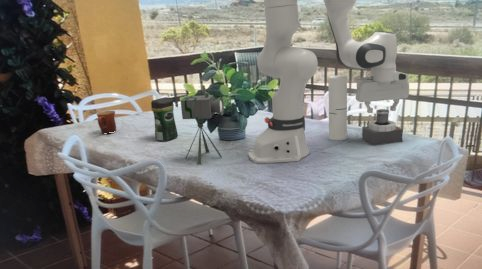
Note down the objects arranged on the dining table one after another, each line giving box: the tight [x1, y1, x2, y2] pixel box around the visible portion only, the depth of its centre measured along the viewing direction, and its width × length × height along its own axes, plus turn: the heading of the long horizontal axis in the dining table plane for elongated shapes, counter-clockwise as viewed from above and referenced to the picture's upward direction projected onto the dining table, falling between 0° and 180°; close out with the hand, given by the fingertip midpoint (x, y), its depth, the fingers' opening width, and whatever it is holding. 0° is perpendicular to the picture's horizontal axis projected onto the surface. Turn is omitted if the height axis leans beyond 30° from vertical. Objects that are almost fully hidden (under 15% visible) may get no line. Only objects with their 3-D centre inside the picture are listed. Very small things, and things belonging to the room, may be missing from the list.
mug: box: [96, 110, 117, 134], centre depth 196 cm, size 12×9×10 cm
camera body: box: [361, 119, 404, 146], centre depth 157 cm, size 12×10×7 cm
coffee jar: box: [150, 97, 179, 142], centre depth 179 cm, size 10×8×19 cm
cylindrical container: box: [327, 74, 348, 141], centre depth 162 cm, size 7×7×25 cm
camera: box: [180, 91, 225, 165], centre depth 149 cm, size 16×16×25 cm
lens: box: [375, 108, 390, 125], centre depth 156 cm, size 5×5×7 cm
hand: (381, 111), depth 155 cm, fingers open, 8 cm apart
